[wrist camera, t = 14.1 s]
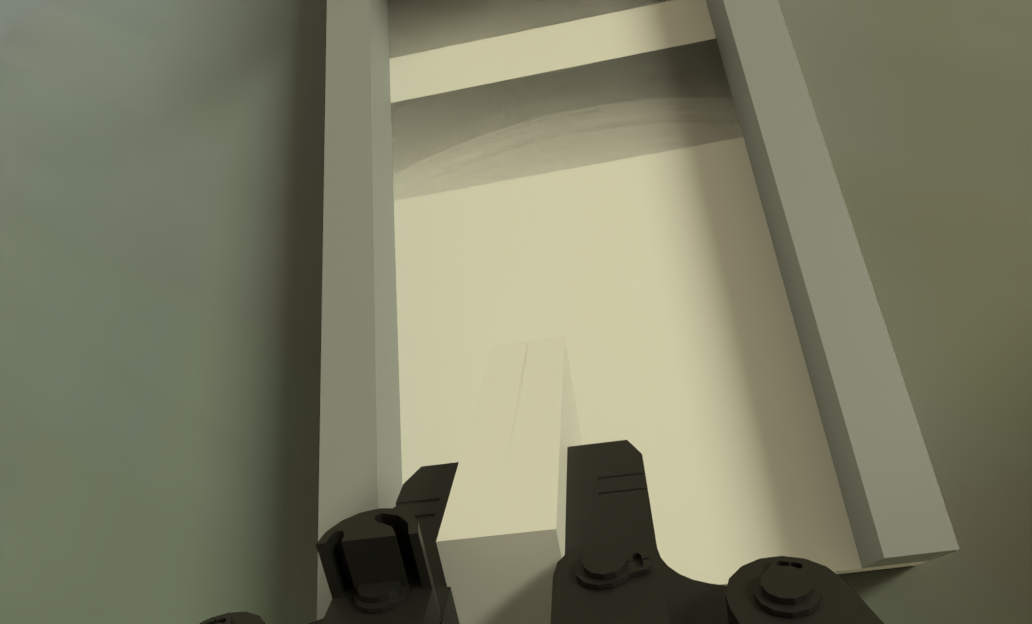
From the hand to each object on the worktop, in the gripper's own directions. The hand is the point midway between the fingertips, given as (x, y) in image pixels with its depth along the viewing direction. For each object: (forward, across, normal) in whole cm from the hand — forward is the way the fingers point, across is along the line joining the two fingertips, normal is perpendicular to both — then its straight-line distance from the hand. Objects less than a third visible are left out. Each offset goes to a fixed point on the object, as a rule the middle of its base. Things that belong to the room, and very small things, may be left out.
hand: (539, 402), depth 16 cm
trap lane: (+14, +1, +6) cm, 16 cm away
